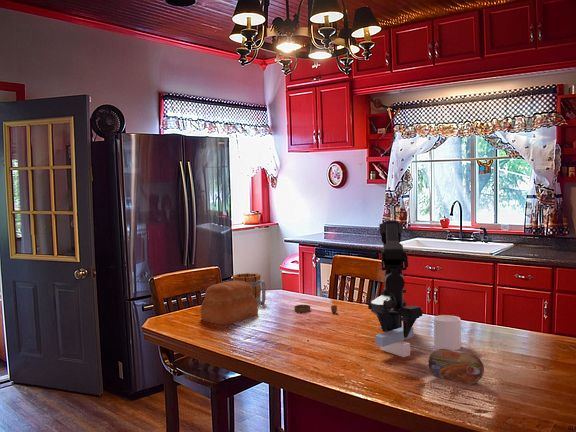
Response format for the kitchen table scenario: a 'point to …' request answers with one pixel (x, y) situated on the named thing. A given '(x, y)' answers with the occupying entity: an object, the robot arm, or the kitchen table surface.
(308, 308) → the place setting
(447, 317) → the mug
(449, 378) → the tin
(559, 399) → the kitchen table surface
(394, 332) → the bar
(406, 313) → the robot arm
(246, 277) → the mug
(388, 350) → the fulcrum
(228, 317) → the bread
